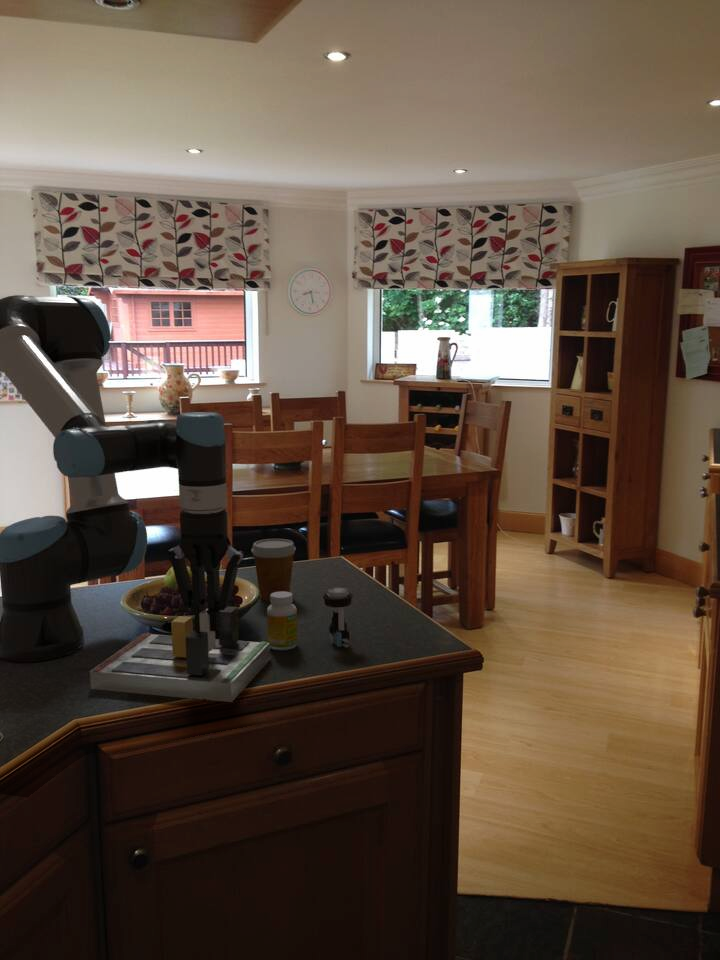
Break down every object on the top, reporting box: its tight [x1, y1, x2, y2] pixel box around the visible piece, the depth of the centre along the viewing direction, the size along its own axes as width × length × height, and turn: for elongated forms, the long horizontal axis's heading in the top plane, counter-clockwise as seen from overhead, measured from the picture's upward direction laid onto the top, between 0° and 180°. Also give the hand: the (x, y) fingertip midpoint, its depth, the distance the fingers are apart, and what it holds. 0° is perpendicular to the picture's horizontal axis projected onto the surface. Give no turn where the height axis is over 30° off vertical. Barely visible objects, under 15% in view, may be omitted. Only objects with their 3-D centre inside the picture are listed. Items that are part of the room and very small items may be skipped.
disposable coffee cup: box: [250, 538, 297, 602], centre depth 182 cm, size 10×10×12 cm
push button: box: [322, 587, 354, 648], centre depth 154 cm, size 7×5×10 cm
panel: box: [89, 605, 271, 703], centre depth 140 cm, size 24×18×10 cm
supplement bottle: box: [266, 591, 298, 651], centre depth 153 cm, size 5×5×10 cm
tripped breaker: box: [170, 615, 194, 658], centre depth 140 cm, size 2×3×6 cm
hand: (208, 648), depth 140 cm, fingers closed
